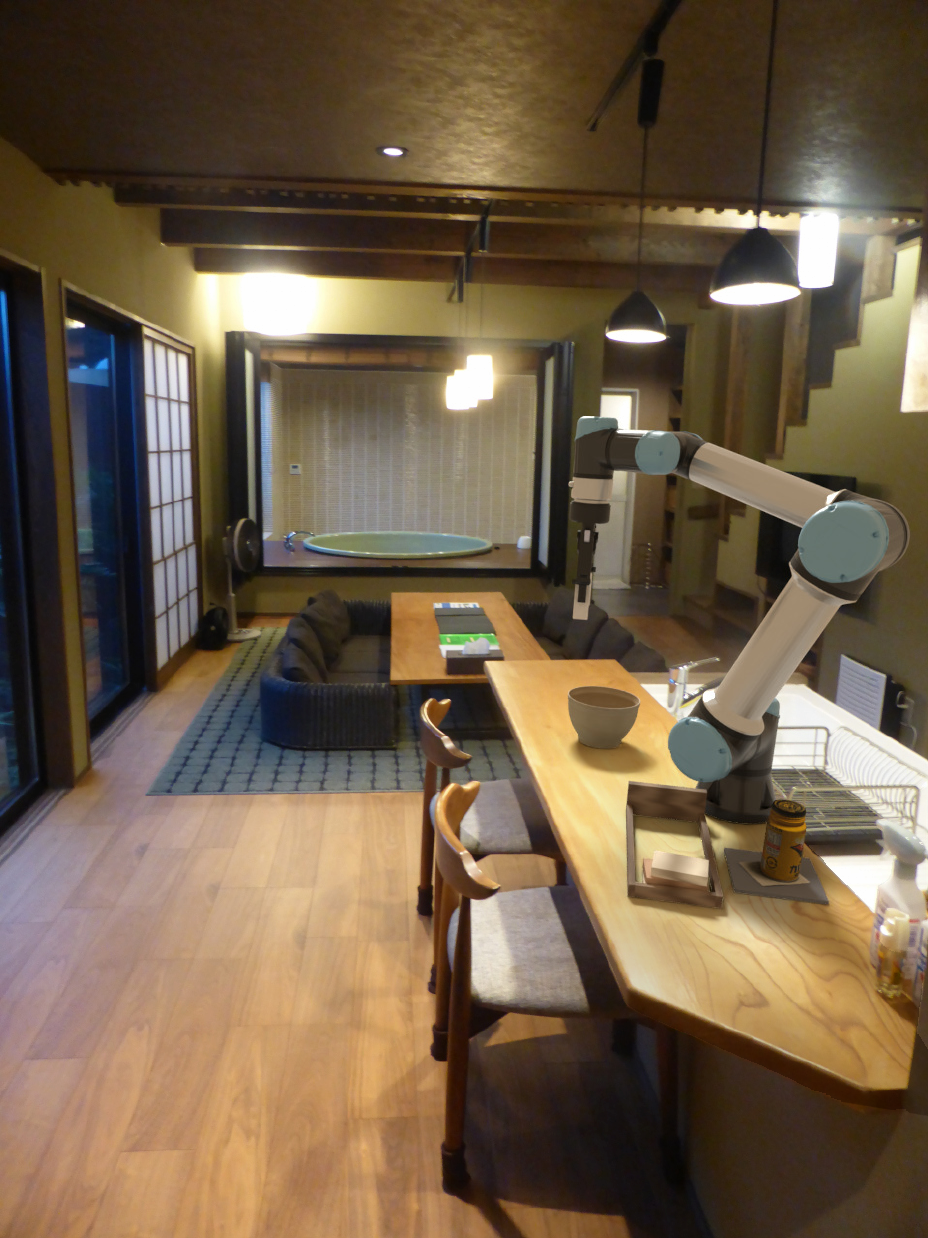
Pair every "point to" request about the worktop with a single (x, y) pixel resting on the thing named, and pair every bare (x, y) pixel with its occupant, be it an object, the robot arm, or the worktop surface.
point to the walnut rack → (674, 807)
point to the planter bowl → (602, 714)
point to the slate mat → (792, 892)
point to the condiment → (781, 846)
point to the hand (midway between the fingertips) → (581, 611)
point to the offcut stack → (676, 871)
